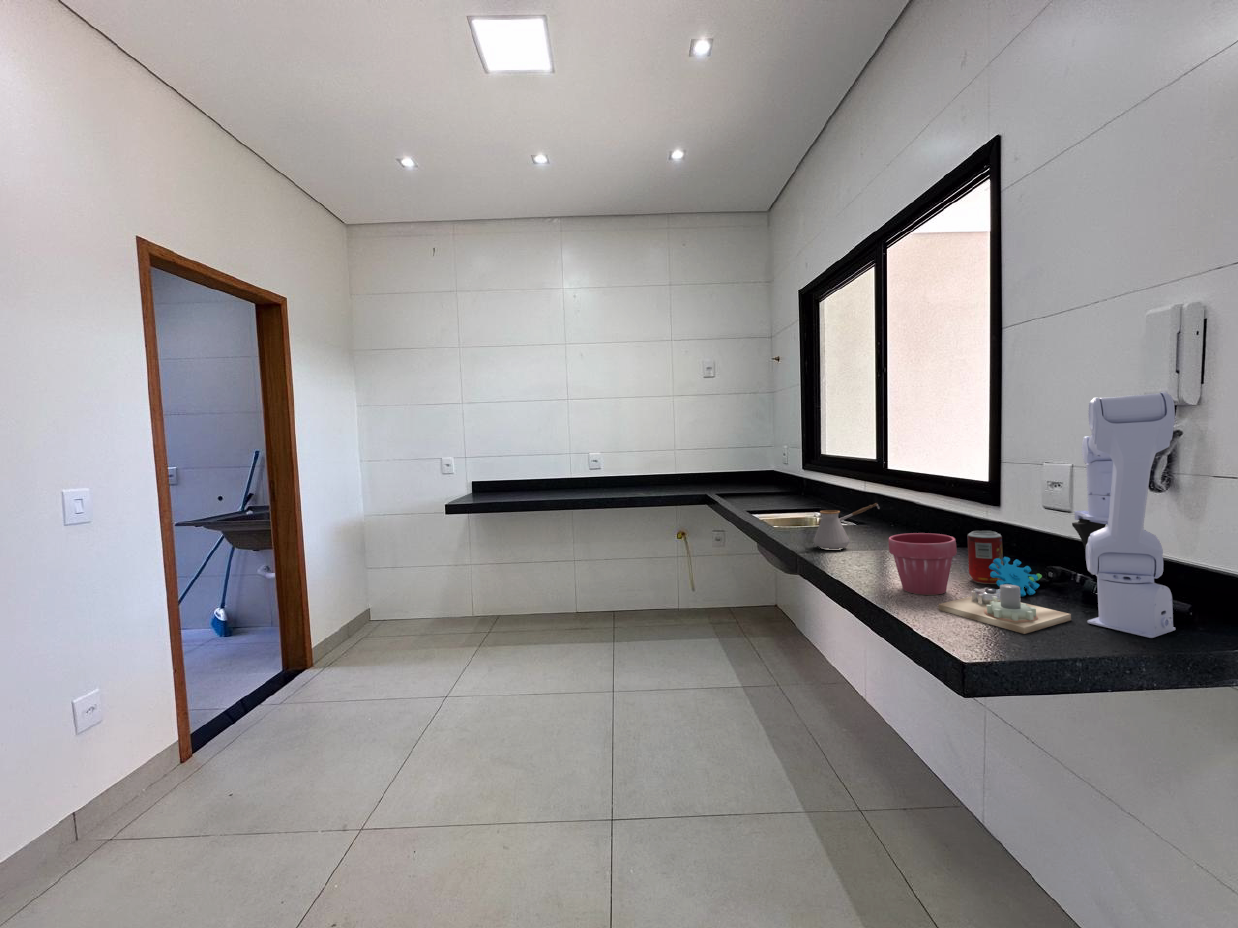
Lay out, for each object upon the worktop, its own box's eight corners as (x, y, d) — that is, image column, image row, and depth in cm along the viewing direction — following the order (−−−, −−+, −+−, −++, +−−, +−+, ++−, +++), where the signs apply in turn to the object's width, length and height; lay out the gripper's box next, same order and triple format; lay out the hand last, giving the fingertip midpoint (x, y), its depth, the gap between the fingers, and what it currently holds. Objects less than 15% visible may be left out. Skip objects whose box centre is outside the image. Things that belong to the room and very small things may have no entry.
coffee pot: (816, 552, 175) (814, 507, 175) (811, 545, 186) (809, 503, 186) (886, 551, 170) (883, 505, 170) (876, 544, 182) (874, 501, 181)
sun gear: (1018, 602, 111) (1018, 590, 111) (997, 608, 108) (996, 595, 108) (985, 594, 117) (985, 583, 117) (964, 600, 114) (963, 588, 114)
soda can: (1006, 585, 126) (1004, 534, 126) (971, 583, 130) (968, 534, 129) (1001, 578, 133) (998, 529, 132) (967, 576, 136) (965, 529, 136)
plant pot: (877, 586, 133) (875, 536, 133) (925, 579, 136) (923, 530, 135) (921, 601, 119) (918, 545, 119) (973, 594, 122) (971, 539, 121)
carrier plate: (1071, 620, 102) (1070, 613, 102) (1024, 633, 97) (1024, 626, 97) (982, 598, 118) (982, 592, 118) (938, 609, 113) (938, 603, 113)
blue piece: (1001, 591, 118) (985, 553, 124) (987, 604, 122) (973, 566, 129) (1054, 595, 117) (1035, 557, 123) (1038, 608, 121) (1021, 570, 128)
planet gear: (1046, 616, 101) (1045, 588, 101) (1017, 623, 99) (1015, 594, 99) (1005, 605, 109) (1004, 579, 109) (977, 611, 106) (976, 584, 106)
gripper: (1058, 491, 116) (1061, 552, 117) (1114, 498, 102) (1117, 568, 102) (1093, 489, 116) (1095, 551, 116) (1154, 496, 101) (1156, 566, 102)
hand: (1108, 559), depth 109 cm, fingers open, 7 cm apart
